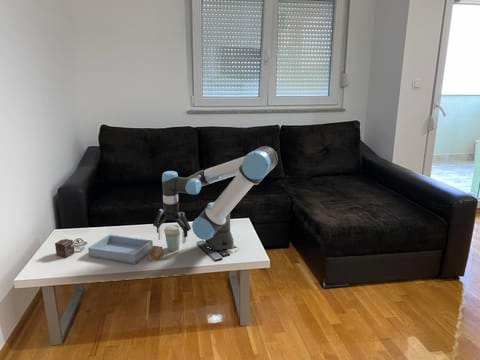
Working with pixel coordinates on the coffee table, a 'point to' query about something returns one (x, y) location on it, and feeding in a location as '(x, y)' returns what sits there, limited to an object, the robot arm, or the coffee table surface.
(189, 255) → the coffee table surface
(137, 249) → the tray
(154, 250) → the walnut cube
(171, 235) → the coffee cup
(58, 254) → the box
